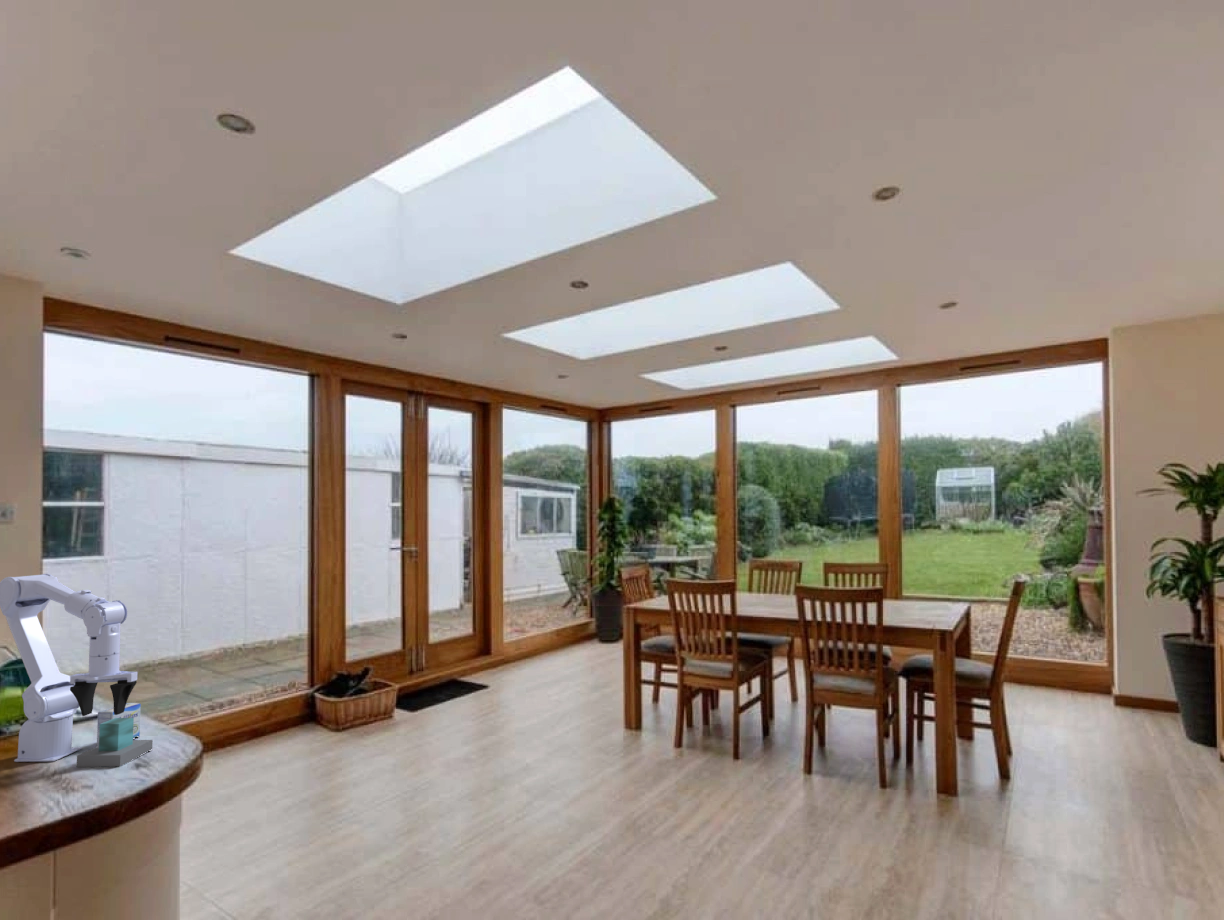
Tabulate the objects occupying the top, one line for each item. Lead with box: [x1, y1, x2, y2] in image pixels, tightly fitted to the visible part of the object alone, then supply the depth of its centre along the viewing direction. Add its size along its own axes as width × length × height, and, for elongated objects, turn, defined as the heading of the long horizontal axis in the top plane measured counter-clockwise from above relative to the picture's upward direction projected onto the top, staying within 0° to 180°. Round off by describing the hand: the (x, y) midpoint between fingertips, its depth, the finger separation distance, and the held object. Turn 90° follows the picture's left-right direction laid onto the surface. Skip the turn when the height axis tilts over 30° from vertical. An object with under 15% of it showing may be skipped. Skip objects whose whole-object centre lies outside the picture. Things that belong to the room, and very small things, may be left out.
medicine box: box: [96, 702, 142, 747], centre depth 164 cm, size 8×4×9 cm, turn 168°
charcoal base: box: [76, 739, 153, 768], centre depth 153 cm, size 10×10×2 cm
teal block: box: [99, 718, 134, 751], centre depth 153 cm, size 4×4×6 cm
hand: (103, 714), depth 152 cm, fingers open, 7 cm apart
